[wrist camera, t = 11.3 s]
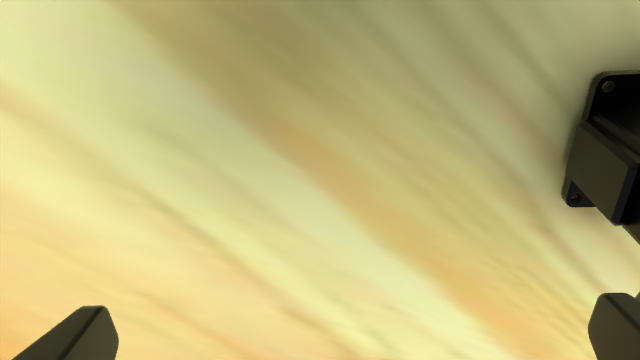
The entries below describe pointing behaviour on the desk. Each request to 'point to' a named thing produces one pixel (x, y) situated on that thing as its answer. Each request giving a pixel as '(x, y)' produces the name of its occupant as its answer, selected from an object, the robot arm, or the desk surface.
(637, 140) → the robot arm
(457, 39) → the desk surface
